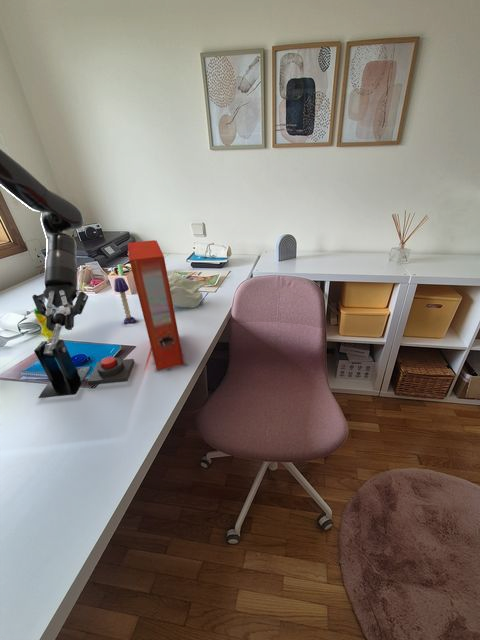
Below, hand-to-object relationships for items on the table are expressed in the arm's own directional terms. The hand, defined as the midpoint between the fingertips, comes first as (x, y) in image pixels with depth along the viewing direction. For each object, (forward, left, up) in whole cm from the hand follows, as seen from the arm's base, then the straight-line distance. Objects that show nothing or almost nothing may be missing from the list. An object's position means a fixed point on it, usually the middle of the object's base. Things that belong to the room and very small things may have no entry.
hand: (60, 329), depth 81 cm
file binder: (+25, +5, -13) cm, 29 cm away
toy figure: (-15, +19, -13) cm, 28 cm away
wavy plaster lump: (+27, +39, -13) cm, 49 cm away
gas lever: (0, -2, -2) cm, 2 cm away
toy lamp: (+9, +28, -13) cm, 32 cm away
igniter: (+11, -5, -10) cm, 16 cm away
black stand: (0, -7, -13) cm, 15 cm away
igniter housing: (+11, -5, -13) cm, 18 cm away
